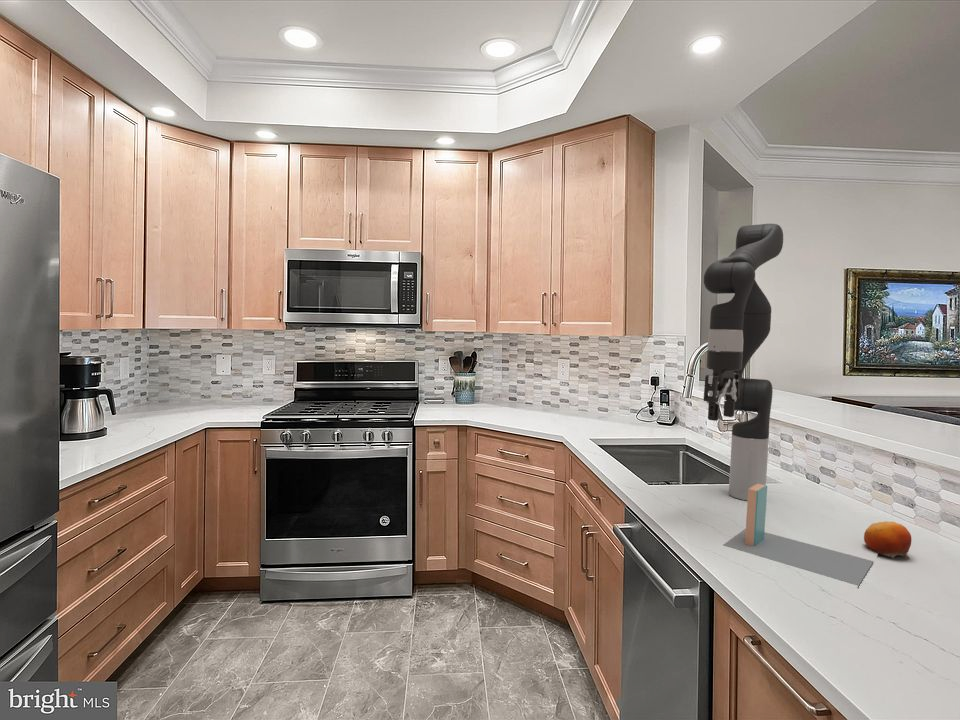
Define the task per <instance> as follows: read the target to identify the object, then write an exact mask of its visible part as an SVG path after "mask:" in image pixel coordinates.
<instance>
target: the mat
mask: <svg viewBox="0 0 960 720" xmlns="http://www.w3.org/2000/svg"><path fill="white" fill-rule="evenodd" d="M745 535H746V528H744V529H743V530H742V531H740V532H739V533H737V534H736V535H735V536H733V537H731V539H729V540H727V542H725V543H724V544H722V546H725V547H727V548H731V549H734V550H737V551H740V552H744V553H748V554H749V555H750V554H751V555H754V556H756V557H757V556H758V557H760V558H764V559H768V560H771V561H775V562H778V563H781V564H784V565H788V566H791V567H794V568H798V569H799V570H800V569H801V570H804V571H808V572H811V573H813V574H814V573H815V574H818V575H820V576H825V577H828V578H831V579H834V580H837V581H841V582H844V583H848V584H852V585H854V586H856V587H857V588H858V589H859V588H860V587H861V585H862V584H861V583H863V582H864V580H865V579H864V578H866V577H867V575H868V574H867V573H869V572H870V570H871V569H872V567H873V565H874V560H871V559H866V558H863V557H859V556H855V555H853V554H849V553H848V554H847V553H845V552H844V553H843V552H840V551H837V550H834V549H833V550H832V549H829V548H825V547H822V546H818V545H814V544H810V543H807V542H804V541H799V540H795V539H791V538H788V537H784V536H781V535H776V534H772V533H771V532H766V531H765V533H764V539H763V540H762V541H761V542H760V543H759V544H757V545H756V546H752V545H748V544H745ZM870 568H871V569H870ZM868 571H869V572H868ZM865 576H866V577H865ZM863 579H864V580H863ZM862 581H863V582H862ZM860 584H861V585H860ZM859 586H860V587H859Z"/></svg>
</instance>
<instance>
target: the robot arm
mask: <svg viewBox="0 0 960 720" xmlns="http://www.w3.org/2000/svg"><path fill="white" fill-rule="evenodd" d="M783 246H784V232H783V228H782V227H781V225H779V224H778V223H761V224H749V225H743V226H740V227H739V229H738V230H737V233H736V237H735V250H733V252H731V253H730V255H728V256H727V257H724V258H722V259H718V260H716V261H713V263H711V264H710V265H709V266H708V267H707V268H706V269H705V272H704V275H703V285H704V288H705V289H706V290H707V291H709V292H710V293H712V294H717V295H718V294H720V295H721V294H734V295H733V297H732V298H731V299H730V300H729V301H727V302H723V303H719V304H715V305H713V306H712V307H711V310H710V316H709V318H710V319H709V320H710V321H709V333H708V337H707V338H708V339H707V348H706V349H707V353H706V368H707V369H709V370H711V371H713V372H712V374H706V375H705V377H704V390H703V391H704V392H703V402H706V403H707V404H708V409H707V419H708V420H709V421H712V422H713V421H714V422H715V421H719V419H720V403H721V400H722V398H724V401H723V417H727V418H734V417H735V411H739V412H749V413H757V415H755V416H754V417H753V418H751V419H748V420H745V421H740V422H736V423H734V424H733V425H732V428H731V445H730V446H731V447H730V463H729V466H730V467H729V480H728V495H729V496H731V497H733V498H736V499H739V500H743V501H747V500H748V489H749V488H751V487H752V486H754V485H756V484H762V485H767V474H768V473H767V472H768V471H767V470H768V457H769V456H768V455H769V440H770V439H769V438H770V437H769V436H770V421H771V420H770V419H771V418H770V417H771V411H772V402H773V394H774V393H773V391H774V390H773V384H772V382H771V381H770V380H769V379H764V378H763V379H762V378H747V377H746V378H745V377H743V373H744V371H745V369H746V366H747V364H748V363H749V361H750V359H751V358H752V357H753V356H754V354H755V353H756V352H757V350H758V349H760V347H761V345H763V343H764V342H765V341H766V339H767V338H768V337H769V335H770V332H771V325H772V324H771V322H772V306H771V303H770V301H769V300H768V298H767V296H766V295H765V293H764V292H763V290H762V289H761V287H760V286H759V284H758V283H757V281H756V271H757V270H758V268H759V267H761V266H762V265H764V264H766V263H767V262H769V261H771V260H773V259H775V258H777V257H778V256H779V255H780V253H781V252H782V250H783Z"/></svg>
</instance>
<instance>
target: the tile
mask: <svg viewBox="0 0 960 720" xmlns="http://www.w3.org/2000/svg"><path fill="white" fill-rule="evenodd" d="M767 495H768V485H767V484H766V485H762V484H756V485H754V486H752V487H751V488H749V489H748V500H746V502H747V506H746V518H745V519H746V520H745V521H746V522H745V529H746V535H745V544H748V545H752V546H756V545H757V544H759V543H760V542H761V541H762V540H763V539H764V533H765V532H766V530H765V528H766V516H767V515H766V513H767V512H766V511H767V497H768V496H767Z"/></svg>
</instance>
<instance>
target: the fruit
mask: <svg viewBox="0 0 960 720" xmlns="http://www.w3.org/2000/svg"><path fill="white" fill-rule="evenodd" d="M863 542H864V543H865V544H866V546H867V547H868V549H870V550H871V551H873V552H874V553H875V552H876V553H877V554H878V555H879V556H885V557H889V558H891V559H895V557H896V556H902V557H906V558H907V559H909V560H910V559H911V558H910V557H909V556H908V553H909V552H910V548H911V547H912V534H911V532H910V531H909V530H908V528H907V527H906V526H904V525H903V524H901V523H898V522H895V521H879V522H874V523H871V524H870V525H869V526H868V527H867V528H866V529H865V531H864V533H863Z"/></svg>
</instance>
